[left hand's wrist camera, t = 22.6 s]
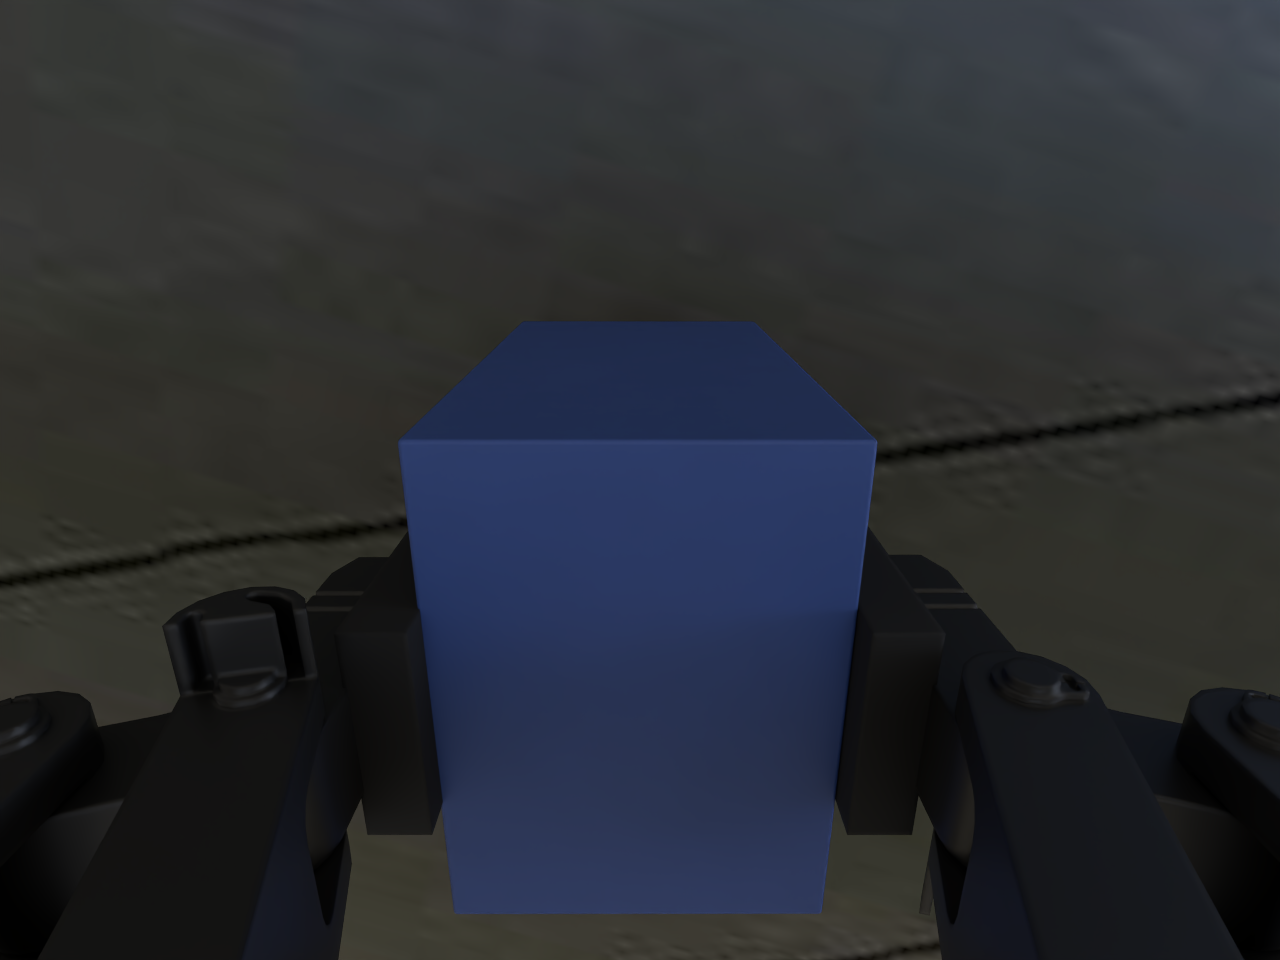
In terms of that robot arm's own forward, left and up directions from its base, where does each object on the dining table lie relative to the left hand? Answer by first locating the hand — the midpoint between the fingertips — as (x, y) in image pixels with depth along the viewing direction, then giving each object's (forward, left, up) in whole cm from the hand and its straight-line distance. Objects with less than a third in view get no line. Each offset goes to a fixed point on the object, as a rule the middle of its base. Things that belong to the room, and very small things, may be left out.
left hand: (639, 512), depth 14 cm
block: (0, 0, -2) cm, 2 cm away
